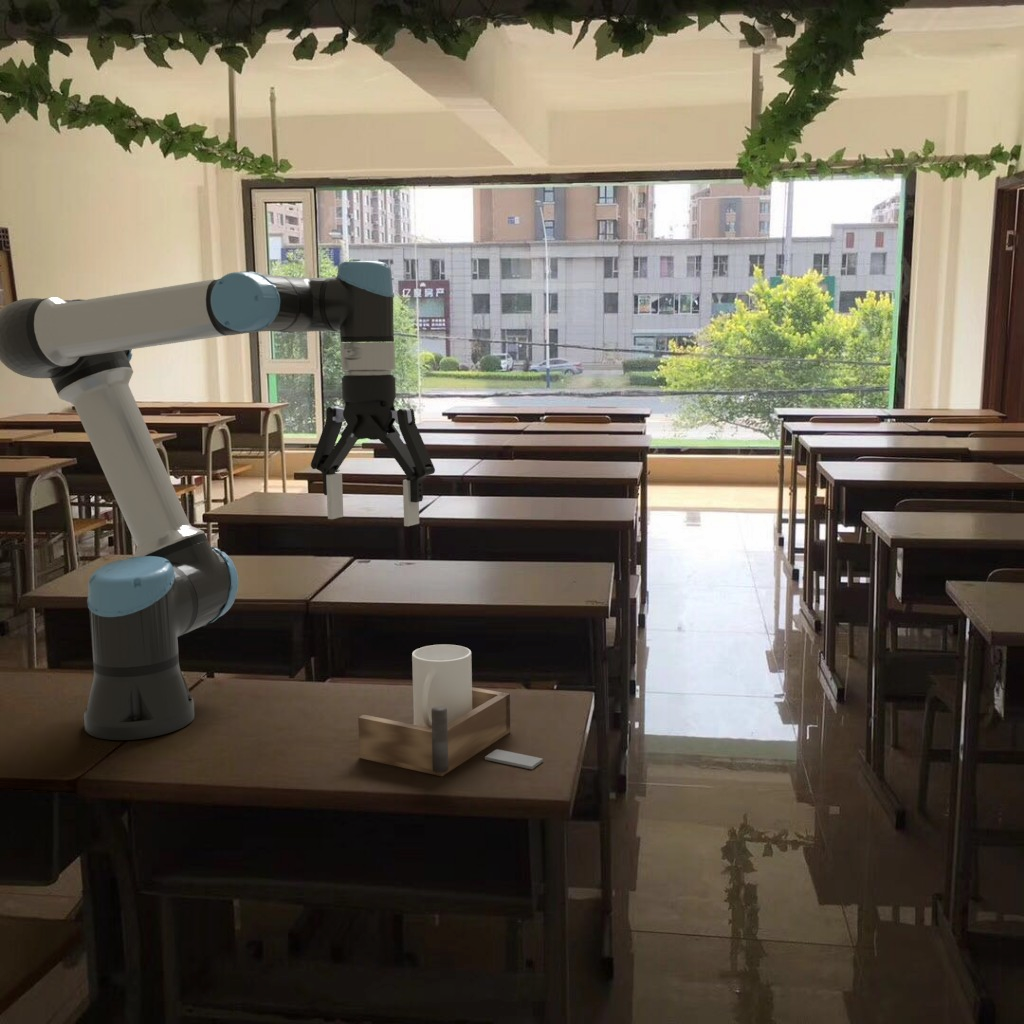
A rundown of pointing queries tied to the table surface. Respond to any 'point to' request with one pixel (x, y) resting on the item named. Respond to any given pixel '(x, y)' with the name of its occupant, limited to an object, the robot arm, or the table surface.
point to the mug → (441, 682)
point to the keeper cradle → (437, 735)
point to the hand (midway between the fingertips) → (372, 521)
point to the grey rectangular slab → (514, 759)
